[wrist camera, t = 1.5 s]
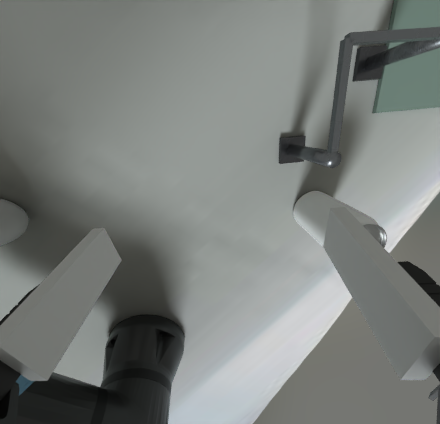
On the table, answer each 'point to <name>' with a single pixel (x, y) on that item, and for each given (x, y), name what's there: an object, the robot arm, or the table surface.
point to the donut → (11, 221)
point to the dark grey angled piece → (364, 70)
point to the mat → (411, 63)
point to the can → (319, 212)
